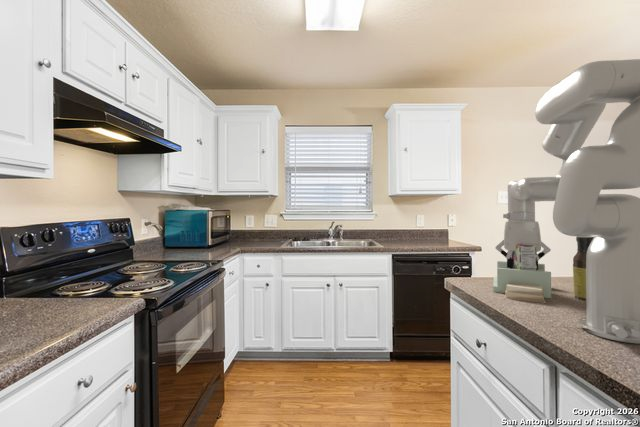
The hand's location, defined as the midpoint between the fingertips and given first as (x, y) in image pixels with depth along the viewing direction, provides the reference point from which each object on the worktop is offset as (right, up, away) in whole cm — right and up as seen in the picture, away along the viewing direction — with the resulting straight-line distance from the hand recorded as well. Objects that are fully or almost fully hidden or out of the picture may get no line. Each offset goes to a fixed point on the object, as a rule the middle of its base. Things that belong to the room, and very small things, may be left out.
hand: (522, 270), depth 100 cm
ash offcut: (-6, -5, -9) cm, 12 cm away
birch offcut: (-6, -7, -9) cm, 13 cm away
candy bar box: (0, -7, 0) cm, 7 cm away
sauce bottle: (+12, -8, -11) cm, 18 cm away
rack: (0, -8, 0) cm, 8 cm away
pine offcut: (-6, -8, -9) cm, 14 cm away
